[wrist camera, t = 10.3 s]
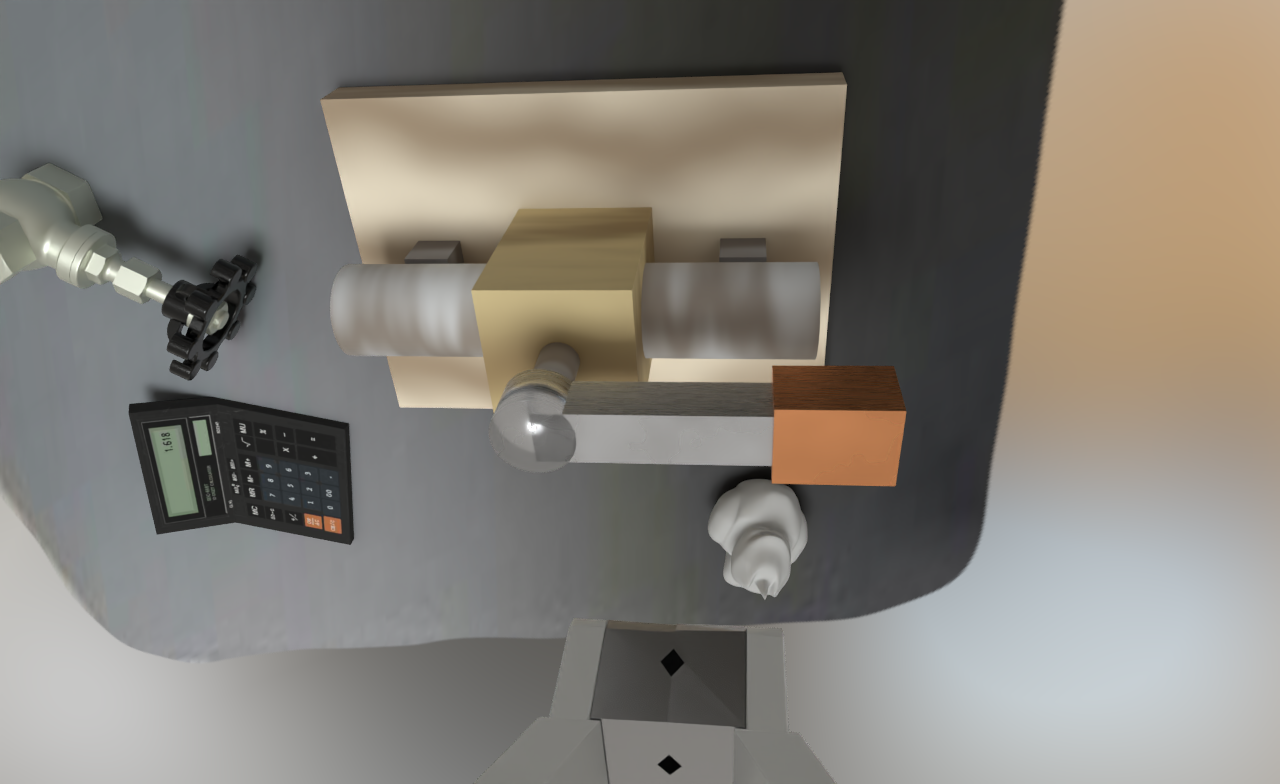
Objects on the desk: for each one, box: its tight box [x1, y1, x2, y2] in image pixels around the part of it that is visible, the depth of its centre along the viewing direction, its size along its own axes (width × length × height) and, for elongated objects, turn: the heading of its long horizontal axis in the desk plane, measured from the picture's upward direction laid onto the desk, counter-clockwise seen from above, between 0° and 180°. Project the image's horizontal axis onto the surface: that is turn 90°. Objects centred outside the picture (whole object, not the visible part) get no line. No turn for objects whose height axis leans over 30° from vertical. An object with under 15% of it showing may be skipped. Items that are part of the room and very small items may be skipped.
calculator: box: [129, 397, 354, 545], centre depth 50 cm, size 9×12×3 cm
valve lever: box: [489, 365, 906, 486], centre depth 28 cm, size 14×3×3 cm, turn 93°
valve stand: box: [320, 72, 847, 412], centre depth 35 cm, size 16×22×13 cm
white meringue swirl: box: [708, 479, 807, 599], centre depth 45 cm, size 5×7×8 cm
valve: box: [0, 163, 257, 380], centre depth 40 cm, size 7×7×12 cm
